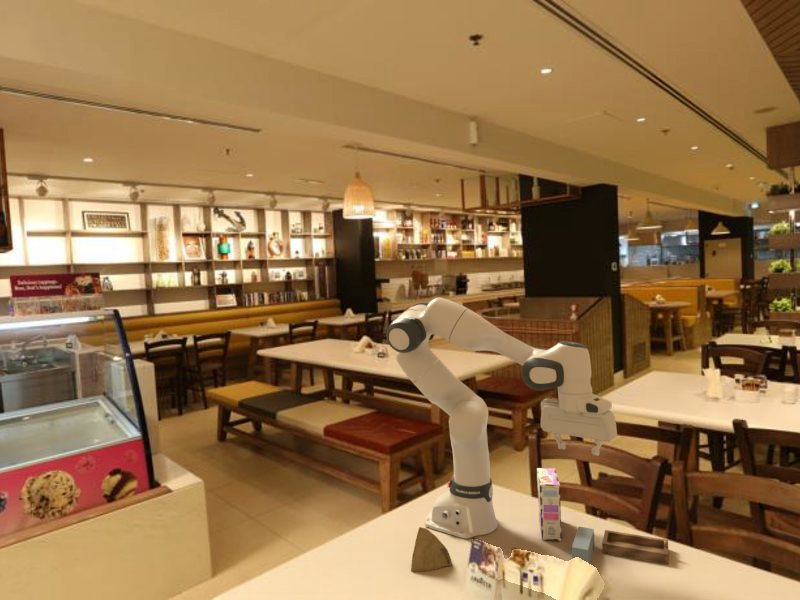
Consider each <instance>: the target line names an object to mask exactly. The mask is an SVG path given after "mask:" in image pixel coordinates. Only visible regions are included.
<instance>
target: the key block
mask: <svg viewBox="0 0 800 600" xmlns="http://www.w3.org/2000/svg"><path fill="white" fill-rule="evenodd" d="M576 530H577V531H576V534H575V536H574V539H573V542H572V546H571V559H572V558H575V557H579V558H581V559H582V560H584V561H586V562H588V563H590V564H591V560H592V555H593V552H594V547H595V535H594V534H595V532H594V528H589V527H584V526H578V527H577V529H576Z"/></svg>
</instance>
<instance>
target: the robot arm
mask: <svg viewBox="0 0 800 600" xmlns="http://www.w3.org/2000/svg"><path fill="white" fill-rule="evenodd" d="M385 335H386V340H387V343H388V345H389V347H390V348H391V349H392V350H394V351H396V354H395V359H396V361H397V363H398V365H399V366H400V367H399V368H401V370H402V371H403V373H404V374H405V376H407V378H408V379H409V380H410V382H412V383H413V385H414V386H415V387H416V388H417V389H418V390H419V391H420V392H421V394H422V395H424V397H425V398H426V399H427V400H428V401H429V402H430V403H431V404H434V405H436V406H437V407H438V408H440V409H441V410H442V411H443V412H445V413H446V414H447V415H448V416H449V418H448V429H449V438H450V445H451V449H452V460H453V461H452V462H453V463H452V464H453V475H452V476H451V478H450V479H449V480H448V482H447V483H446V485H447V490H446V491H445V492H444V493H442V494H441V495H439V496H438V497H437V498H436V499H435V501H434V502H433V505H432V509H431V511H430V512H429V513H428V514H427V515H426V517H425V519H424V526H425V528H426V527H427V528H428V527H429V528H428V529H433V530H434V531H438V532H442V533H444V534H448V535H451V536H455V537H458V538H461V539H464V540H465V539H471V538H473V537H477V536H484V535H488V534H490V533H493V532H494V531H496V529H498V527H499V523H498V521H497V518H496V514H495V509H494V505H493V496H494V495H493V494H494V492H493V491H494V489H493V488H494V487H493V483H492V482H493V481H492V478H491V463H490V452H489V446H488V432H487V430H488V428H487V425H488V417H489V408H488V406H487V404H486V402H485V400H484V399H483V398H482V397H480V396H479V395H477V394H476V393H475V392H474V391H473V390H472V389H471V388H470V387H468V385H466V384H465V383H463V381H461V380H460V379H459V378H457V376H455V375H454V373H452V371H451V370H450V369H449V368H448V367H447V366H446V365H445V364H444V363H443V362H442V360H441V359H439V357H437V355H436V354H435V353H434V351H432V349H431V348H430V345H429V341H432V340H433V339H434V336H435V335H436V336H439V337H442V338H443V339H445V340H446V341H448V342H449V343H451V344H453V345H454V346H457V347H459V348H461V349H464V350H467V351H470V352H477V351H486V352H487V351H490V352H493V353H494V352H495V353H498V354H500V355H502V356H504V357H506V358H507V359H510V360H512V362H513V361H514V362H515V363H517V364H519V365H520V366H522V367H521V370H520V371H521V372H520V373H521V379H522V381H523V382H524V384H525V385H526V386H527V387H529V389H531V390H534V391H546V390H551V389H556V388H557V394H558V398H551V397H550V398H549V397H545V398H544V399H543V400H541V402H540V409H541V410H540V411H541V414H540V415H541V416H540V428H541V430H542V431H543V432H546V433H553V437H554V439H555V441H556V443H557V449H559V450H562V451H563V450H566V448H567V446H566V444H567V443H566V442H565V441H564V440H563V439H562V437H561V436H562V435H564V436H572V437H578V438H582V439H589V440H594V444H596V445H595V446H594V447H592V448H591V451H590V452H591V454H590V455H591V456H595V457H598V456H599V455H600V452H601V451H600V448H601V447H602V445H603V444H604V442H608V443H610V442H612V441H614V440H615V439H616V438H617V436H618V430H617V423H616V416H615V414H614V412H612V411H611V409H612V407H613V405H612V401H610V400H608V399H606V398H603V397H601V396H599V395H597V394H595V393H593V387H592V385H591V378H592V362H591V357H590V353H589V352H590V351H589V350H588V348H587V347H586V346H585V345H584V344H582V343H579V342H577V341H569V340H567V341H566V340H563V341H559V342H557V344H555V345H553V346H552V347H550V348H546V347H537V346H533V345H531V344H528V343H527V342H524V341H522V340H521V339H519V338H517V337H515V336H512V335H511V334H508V333H507V332H504V331H503V330H502V329H500V328H498V327H497V326H496V325H494V324H493V323H491V322H490V321H488V320H487V319H486V318H484V317H483V316H481V315H480V314H478V313H476V312H475V311H474V310H472V309H470V308H469V307H466V306H464V305H462V304H459V303H457V302H455V301H453V300H450V299H447V298H444V297H435V298H433V299H431V301H429V302H427V301H426V302H418V303H416V304H414V305H412V306H411V307H409V308H407V309H406V310H404V311H403V312H402V313H401V314H400V315H399V316H398V317H397V318H395V319H394V320H393V321H392V322H391V323H390V324H389V325H388V327H387V330H386V334H385ZM448 488H449V489H448Z"/></svg>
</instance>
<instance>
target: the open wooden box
mask: <svg viewBox="0 0 800 600" xmlns="http://www.w3.org/2000/svg"><path fill="white" fill-rule="evenodd" d="M603 533H604V534H603V538H602V543H601V546H602V547H601V548H602V550H601V551H602V553H603V554H607V555H608V554H609V555H615V556H619V557H626V558H630V559H631V558H632V559H637V560H642V561H647V562H654V563H659V564H665V565H669V564H670V563H669V559H670V558H669V540H668V539H664V538H657V537H651V536H644V535H639V534H634V533H628V532H627V533H626V532H620V531H615V530H607V529H605V530H604V532H603Z"/></svg>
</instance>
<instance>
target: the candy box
mask: <svg viewBox="0 0 800 600" xmlns="http://www.w3.org/2000/svg"><path fill="white" fill-rule="evenodd" d="M536 481H537V500H538V502H537V503H538V516H539V517H538V519H539V520H538V521H539V529H540V534H541V540H542V541H555V542H556V541H557V542H561V541H563V536H562V509H561V508H562V507H561V506H562V505H561V484H560V480H559V477H558V473H557V470H556V468H555V467H553V468H552V467H546V468H545V467H544V468H543V467H537V468H536Z"/></svg>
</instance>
